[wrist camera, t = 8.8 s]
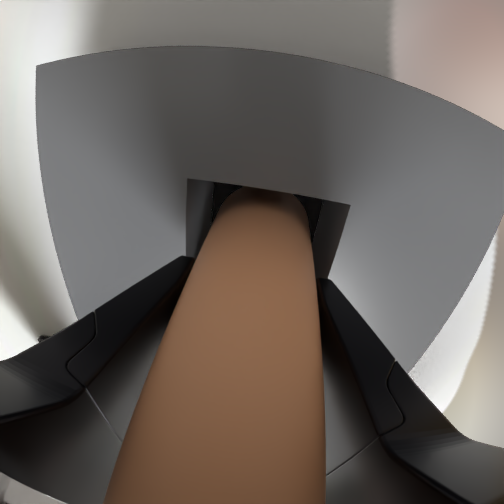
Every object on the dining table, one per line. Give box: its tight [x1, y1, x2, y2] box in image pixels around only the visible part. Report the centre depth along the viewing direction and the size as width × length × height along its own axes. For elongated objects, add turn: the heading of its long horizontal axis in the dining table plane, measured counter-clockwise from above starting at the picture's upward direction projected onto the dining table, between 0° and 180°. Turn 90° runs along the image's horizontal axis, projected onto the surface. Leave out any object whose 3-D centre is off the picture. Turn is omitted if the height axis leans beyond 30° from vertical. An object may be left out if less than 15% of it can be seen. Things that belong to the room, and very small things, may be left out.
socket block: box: [36, 46, 504, 374], centre depth 11 cm, size 16×12×4 cm
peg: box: [103, 186, 326, 504], centre depth 7 cm, size 3×3×10 cm
